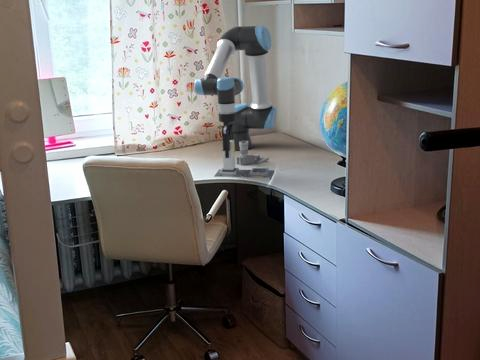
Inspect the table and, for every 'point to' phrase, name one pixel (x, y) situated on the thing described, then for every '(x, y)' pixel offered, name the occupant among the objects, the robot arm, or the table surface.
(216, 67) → the robot arm
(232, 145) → the plug
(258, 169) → the panel
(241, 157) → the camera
